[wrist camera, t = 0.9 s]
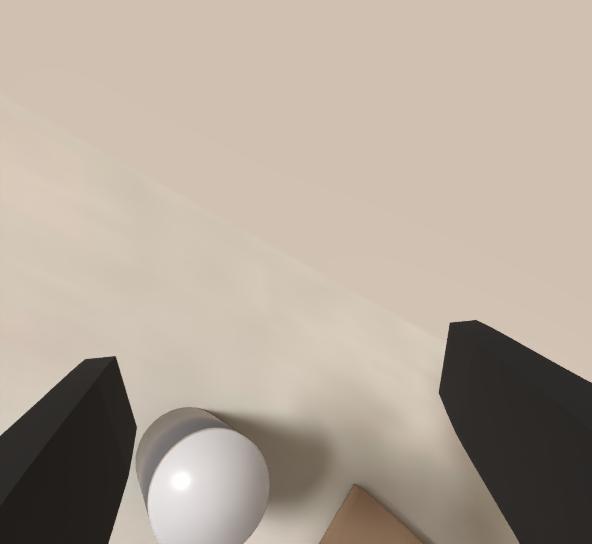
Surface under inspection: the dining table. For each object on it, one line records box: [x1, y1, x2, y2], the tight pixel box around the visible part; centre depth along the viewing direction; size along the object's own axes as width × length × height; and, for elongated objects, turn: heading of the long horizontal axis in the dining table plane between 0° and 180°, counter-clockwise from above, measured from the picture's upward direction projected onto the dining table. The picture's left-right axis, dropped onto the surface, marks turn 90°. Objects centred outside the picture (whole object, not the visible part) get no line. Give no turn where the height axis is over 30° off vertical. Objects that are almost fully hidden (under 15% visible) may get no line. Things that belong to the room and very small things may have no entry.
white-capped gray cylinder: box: [136, 407, 270, 544], centre depth 18 cm, size 5×5×6 cm
